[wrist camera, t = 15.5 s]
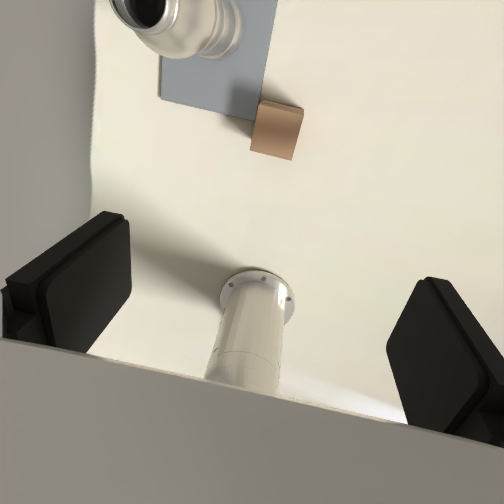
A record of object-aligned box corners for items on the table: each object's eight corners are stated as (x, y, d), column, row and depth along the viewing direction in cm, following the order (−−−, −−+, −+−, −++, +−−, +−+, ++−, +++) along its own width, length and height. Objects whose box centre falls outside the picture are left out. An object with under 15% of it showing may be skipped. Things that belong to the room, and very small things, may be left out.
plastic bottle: (226, 74, 38) (160, 85, 21) (177, 31, 36) (64, 6, 19) (260, 20, 35) (217, -19, 18) (208, -29, 33) (107, -123, 16)
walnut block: (292, 150, 42) (291, 160, 38) (255, 140, 42) (249, 150, 38) (303, 109, 39) (303, 115, 35) (263, 99, 39) (258, 104, 35)
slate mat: (255, 120, 40) (254, 121, 40) (162, 98, 41) (160, 99, 40) (292, -76, 31) (291, -78, 30) (170, -103, 31) (168, -105, 31)
